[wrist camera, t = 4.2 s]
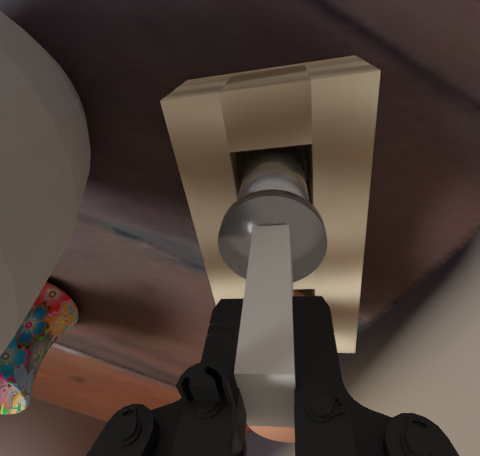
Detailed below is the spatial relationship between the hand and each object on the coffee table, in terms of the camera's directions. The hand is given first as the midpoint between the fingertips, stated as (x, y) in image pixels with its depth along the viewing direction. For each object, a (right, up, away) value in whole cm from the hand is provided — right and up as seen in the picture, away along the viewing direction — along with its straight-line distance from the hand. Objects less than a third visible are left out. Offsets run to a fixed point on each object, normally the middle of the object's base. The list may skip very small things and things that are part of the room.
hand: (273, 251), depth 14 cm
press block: (+2, +2, +13) cm, 13 cm away
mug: (-25, -7, +23) cm, 35 cm away
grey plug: (+1, +5, +7) cm, 9 cm away
